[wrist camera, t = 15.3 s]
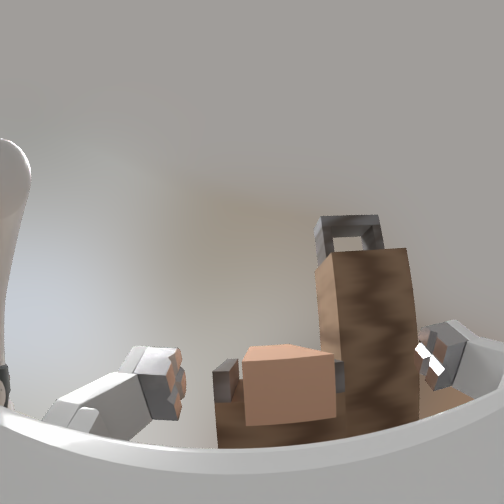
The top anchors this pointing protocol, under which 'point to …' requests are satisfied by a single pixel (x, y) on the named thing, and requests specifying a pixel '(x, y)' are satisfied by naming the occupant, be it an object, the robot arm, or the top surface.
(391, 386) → the tall post
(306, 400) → the slat
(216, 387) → the post
